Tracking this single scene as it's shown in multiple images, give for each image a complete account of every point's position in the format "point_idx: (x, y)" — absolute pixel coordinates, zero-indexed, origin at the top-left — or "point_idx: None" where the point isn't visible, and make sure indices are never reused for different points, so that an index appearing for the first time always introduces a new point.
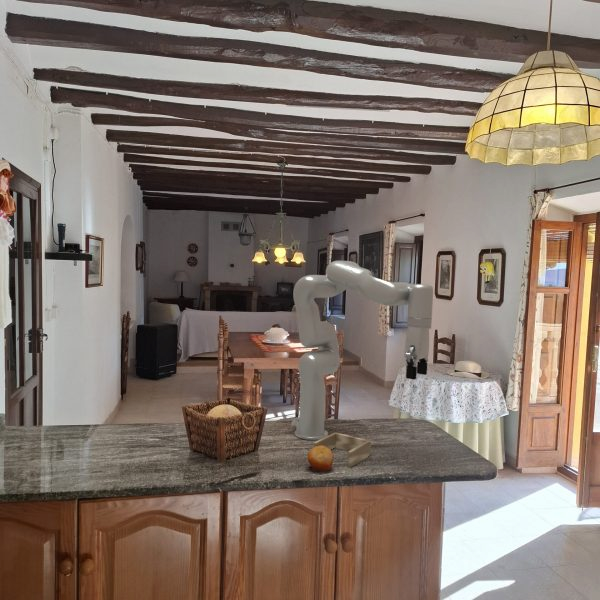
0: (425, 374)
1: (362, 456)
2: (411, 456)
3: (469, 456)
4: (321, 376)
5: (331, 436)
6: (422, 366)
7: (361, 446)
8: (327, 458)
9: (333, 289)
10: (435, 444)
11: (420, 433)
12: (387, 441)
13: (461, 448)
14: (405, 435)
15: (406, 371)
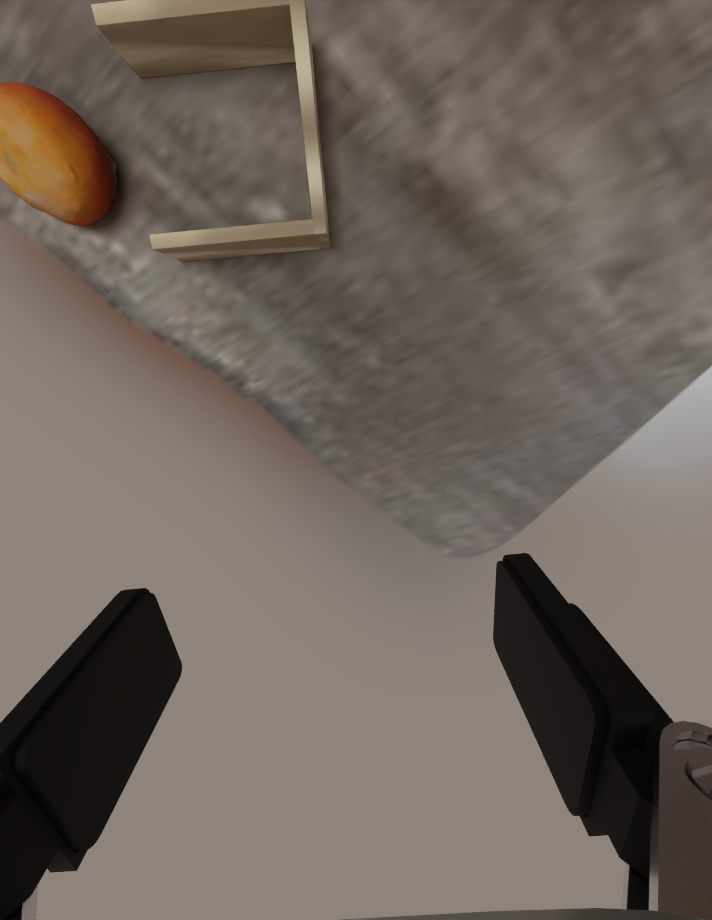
0: (499, 639)
1: (264, 250)
2: (422, 365)
3: (534, 491)
4: None
5: (243, 12)
6: (544, 705)
7: (240, 241)
8: (40, 205)
9: None
10: (589, 373)
11: (696, 268)
12: (519, 210)
13: (594, 450)
14: (637, 230)
15: (62, 660)
